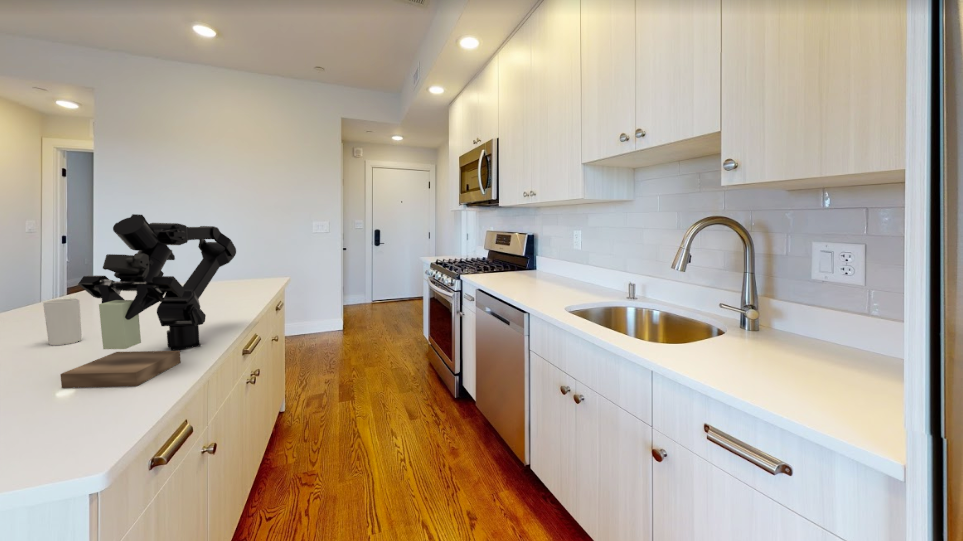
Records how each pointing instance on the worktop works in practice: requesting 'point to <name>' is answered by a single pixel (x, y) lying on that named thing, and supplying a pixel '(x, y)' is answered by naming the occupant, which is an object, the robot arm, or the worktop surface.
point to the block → (118, 325)
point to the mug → (63, 321)
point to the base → (121, 369)
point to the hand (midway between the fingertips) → (114, 318)
